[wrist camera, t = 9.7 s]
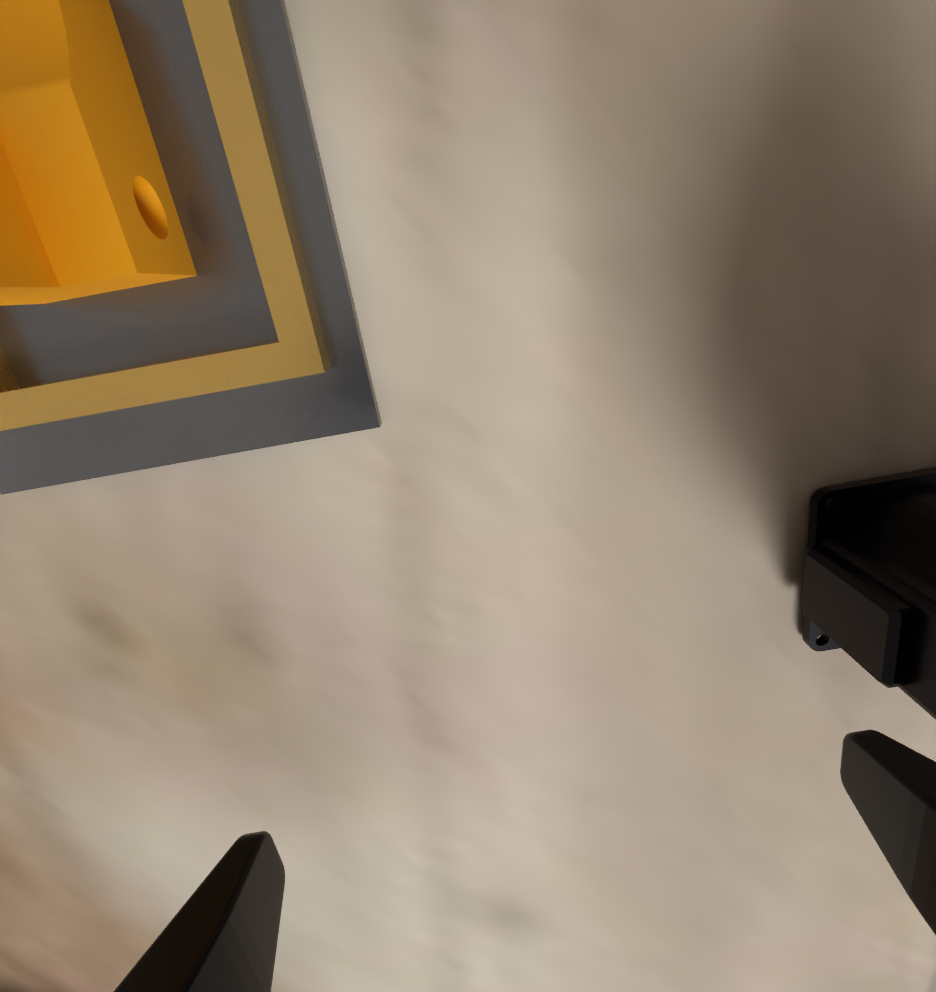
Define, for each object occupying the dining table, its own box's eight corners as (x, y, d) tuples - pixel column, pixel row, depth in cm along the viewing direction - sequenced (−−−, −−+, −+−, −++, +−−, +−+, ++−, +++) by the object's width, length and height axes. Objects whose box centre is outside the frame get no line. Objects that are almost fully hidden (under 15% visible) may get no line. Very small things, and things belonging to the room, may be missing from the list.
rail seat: (100, -794, 10) (42, -978, 8) (381, 423, 17) (376, 435, 16) (-554, -651, 10) (-719, -806, 8) (12, 488, 18) (-25, 506, 16)
